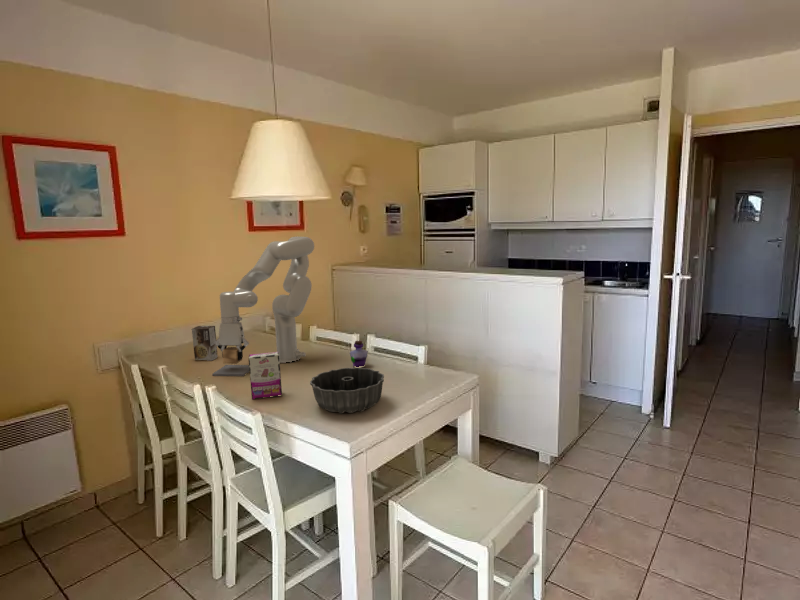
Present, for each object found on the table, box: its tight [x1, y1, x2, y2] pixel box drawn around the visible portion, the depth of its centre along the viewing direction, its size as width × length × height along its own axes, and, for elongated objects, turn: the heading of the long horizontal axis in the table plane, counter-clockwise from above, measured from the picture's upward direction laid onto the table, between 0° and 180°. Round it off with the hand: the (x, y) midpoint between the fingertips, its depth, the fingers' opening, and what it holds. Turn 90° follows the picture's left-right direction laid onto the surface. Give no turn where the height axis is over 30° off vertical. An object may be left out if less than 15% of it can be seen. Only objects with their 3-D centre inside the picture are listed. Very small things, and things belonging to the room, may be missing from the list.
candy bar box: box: [247, 351, 283, 400], centre depth 178 cm, size 11×5×16 cm, turn 105°
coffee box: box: [191, 325, 218, 362], centre depth 230 cm, size 9×6×16 cm
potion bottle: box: [349, 340, 369, 367], centre depth 213 cm, size 9×9×12 cm
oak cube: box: [222, 346, 243, 365], centre depth 209 cm, size 6×6×6 cm
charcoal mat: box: [212, 364, 250, 377], centre depth 210 cm, size 14×13×1 cm
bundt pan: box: [309, 367, 385, 414], centre depth 169 cm, size 26×26×10 cm
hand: (232, 359), depth 209 cm, fingers closed on oak cube, 6 cm apart
